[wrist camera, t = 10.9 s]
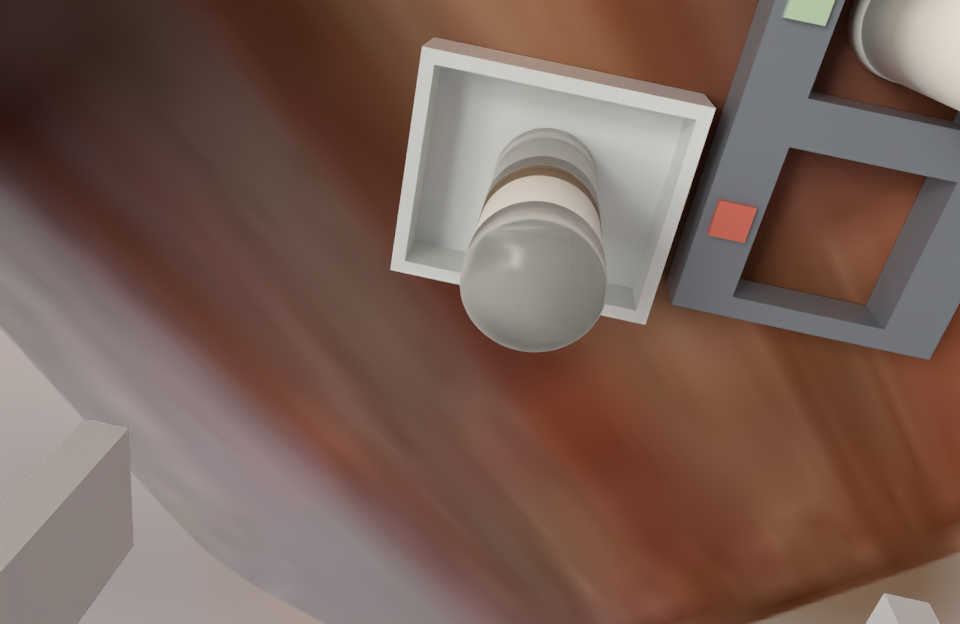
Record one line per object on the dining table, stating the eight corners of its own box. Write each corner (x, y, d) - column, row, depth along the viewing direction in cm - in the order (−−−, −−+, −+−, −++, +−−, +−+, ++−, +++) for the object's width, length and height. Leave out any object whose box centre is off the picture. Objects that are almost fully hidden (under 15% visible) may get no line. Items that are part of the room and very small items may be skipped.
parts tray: (403, 245, 38) (390, 269, 35) (434, 37, 33) (422, 46, 30) (640, 296, 37) (645, 324, 35) (704, 93, 33) (715, 108, 30)
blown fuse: (485, 215, 36) (448, 335, 25) (505, 117, 34) (473, 203, 23) (582, 236, 36) (586, 365, 25) (608, 139, 34) (625, 235, 23)
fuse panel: (665, 282, 37) (672, 307, 34) (804, -139, 29) (826, -146, 26) (907, 334, 37) (931, 363, 34) (1117, -74, 29) (1169, -75, 26)
